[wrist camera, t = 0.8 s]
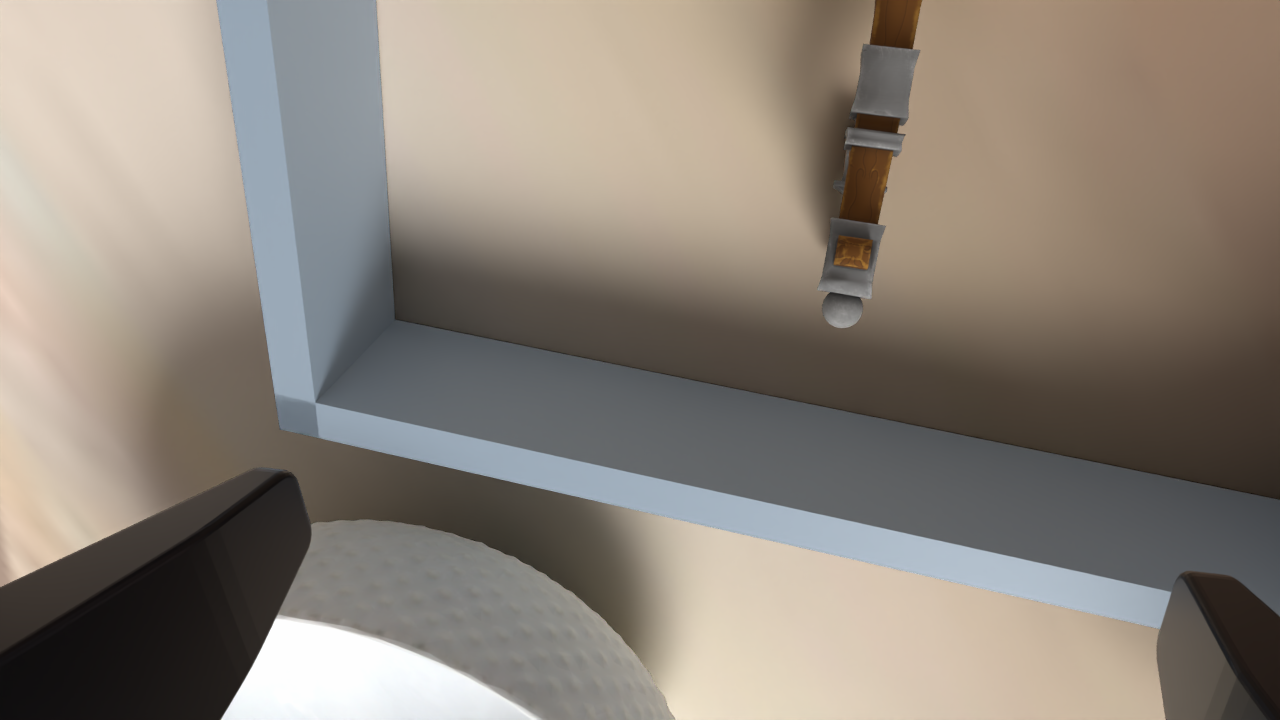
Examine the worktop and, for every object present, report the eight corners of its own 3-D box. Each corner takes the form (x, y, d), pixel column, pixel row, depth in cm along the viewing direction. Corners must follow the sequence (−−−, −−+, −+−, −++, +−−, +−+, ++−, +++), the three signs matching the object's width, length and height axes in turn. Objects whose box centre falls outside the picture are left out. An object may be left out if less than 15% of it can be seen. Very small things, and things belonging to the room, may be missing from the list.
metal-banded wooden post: (793, 307, 20) (787, 323, 16) (857, -73, 19) (870, -168, 15) (876, 320, 20) (893, 340, 16) (947, -64, 19) (987, -159, 15)
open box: (1893, -306, 13) (2248, -345, 9) (1329, 547, 21) (1410, 685, 18) (297, -430, 16) (144, -488, 13) (362, 344, 25) (279, 428, 21)
